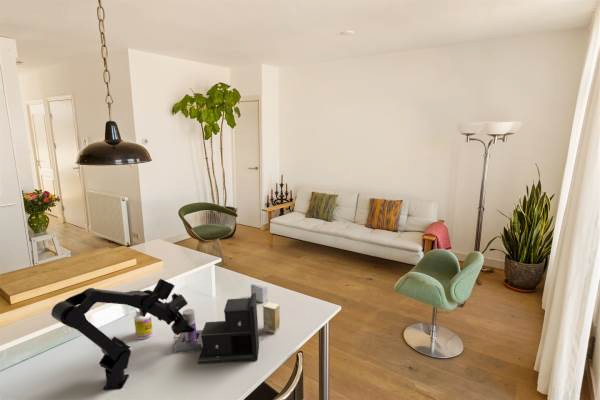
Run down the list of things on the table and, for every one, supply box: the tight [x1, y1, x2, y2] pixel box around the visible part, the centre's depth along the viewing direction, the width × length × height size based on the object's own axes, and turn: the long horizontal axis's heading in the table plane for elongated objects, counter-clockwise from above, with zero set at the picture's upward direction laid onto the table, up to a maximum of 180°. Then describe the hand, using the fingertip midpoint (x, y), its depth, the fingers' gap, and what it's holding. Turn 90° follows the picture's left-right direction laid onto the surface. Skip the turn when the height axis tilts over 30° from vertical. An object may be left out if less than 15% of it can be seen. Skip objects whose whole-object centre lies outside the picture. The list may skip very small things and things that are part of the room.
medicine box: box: [250, 281, 269, 304], centre depth 179 cm, size 8×4×9 cm, turn 58°
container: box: [182, 308, 198, 342], centre depth 142 cm, size 5×5×15 cm
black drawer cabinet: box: [196, 293, 260, 365], centre depth 134 cm, size 23×11×24 cm, turn 93°
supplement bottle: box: [133, 308, 154, 340], centre depth 149 cm, size 7×7×13 cm
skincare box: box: [262, 301, 281, 335], centre depth 151 cm, size 6×4×12 cm
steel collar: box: [174, 329, 203, 353], centre depth 143 cm, size 10×10×3 cm
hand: (190, 325), depth 142 cm, fingers open, 9 cm apart
